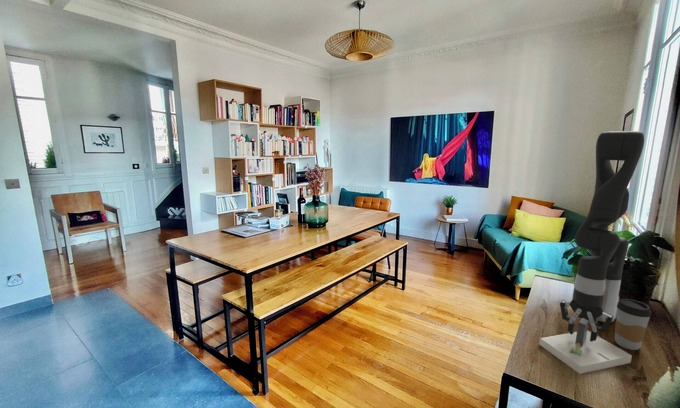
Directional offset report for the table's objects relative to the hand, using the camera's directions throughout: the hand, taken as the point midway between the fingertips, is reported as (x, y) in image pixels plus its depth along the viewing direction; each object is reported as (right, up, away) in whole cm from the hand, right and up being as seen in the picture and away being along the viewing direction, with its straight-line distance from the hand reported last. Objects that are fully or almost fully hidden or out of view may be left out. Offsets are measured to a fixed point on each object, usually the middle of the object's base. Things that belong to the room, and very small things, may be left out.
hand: (581, 336), depth 101 cm
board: (-1, -5, -1) cm, 5 cm away
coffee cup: (+18, -4, +3) cm, 19 cm away
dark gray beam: (-2, -2, -1) cm, 3 cm away
